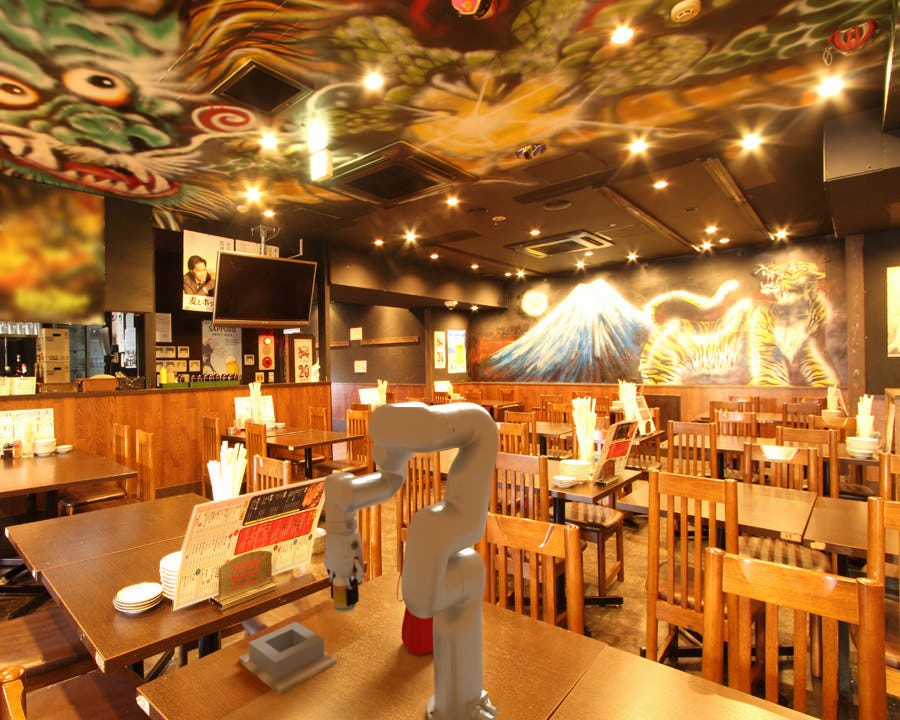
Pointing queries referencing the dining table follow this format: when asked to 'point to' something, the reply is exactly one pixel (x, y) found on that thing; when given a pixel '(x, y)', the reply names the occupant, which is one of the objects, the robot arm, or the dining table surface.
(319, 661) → the gray tray
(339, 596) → the supplement bottle
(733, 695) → the dining table surface
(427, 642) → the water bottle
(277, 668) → the socket holder
